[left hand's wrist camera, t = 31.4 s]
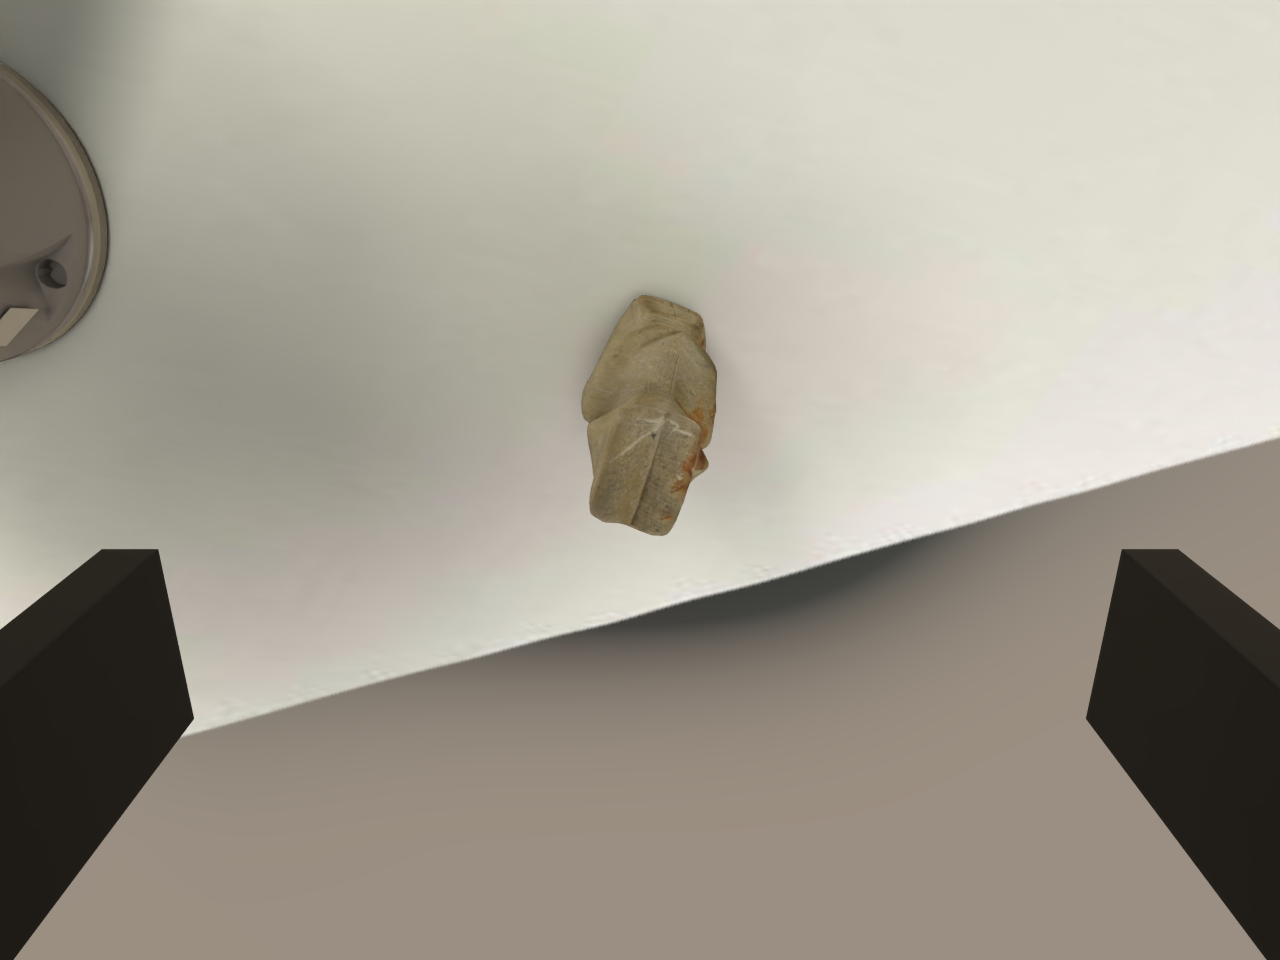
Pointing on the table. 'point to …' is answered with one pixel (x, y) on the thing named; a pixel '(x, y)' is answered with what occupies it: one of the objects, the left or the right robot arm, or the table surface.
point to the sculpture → (649, 415)
